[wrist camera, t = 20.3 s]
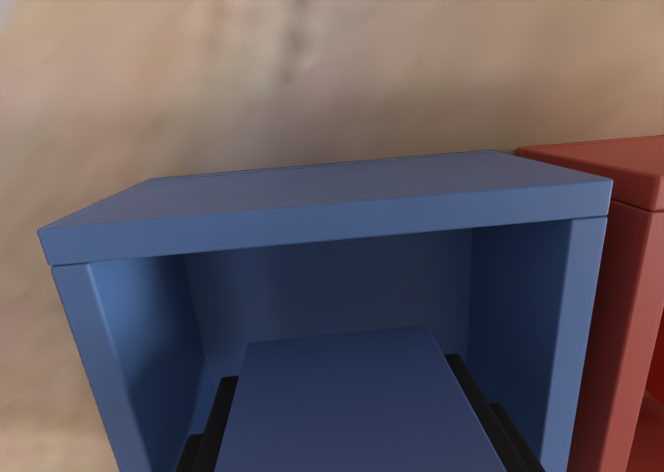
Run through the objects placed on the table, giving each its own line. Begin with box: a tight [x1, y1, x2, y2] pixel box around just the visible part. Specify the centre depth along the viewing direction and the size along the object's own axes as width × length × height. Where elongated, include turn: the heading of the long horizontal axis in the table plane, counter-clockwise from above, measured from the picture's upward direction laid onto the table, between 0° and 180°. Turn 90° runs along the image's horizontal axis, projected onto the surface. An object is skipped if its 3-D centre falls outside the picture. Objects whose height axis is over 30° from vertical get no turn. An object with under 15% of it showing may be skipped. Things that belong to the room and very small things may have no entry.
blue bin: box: [37, 150, 613, 472], centre depth 12 cm, size 12×12×6 cm
